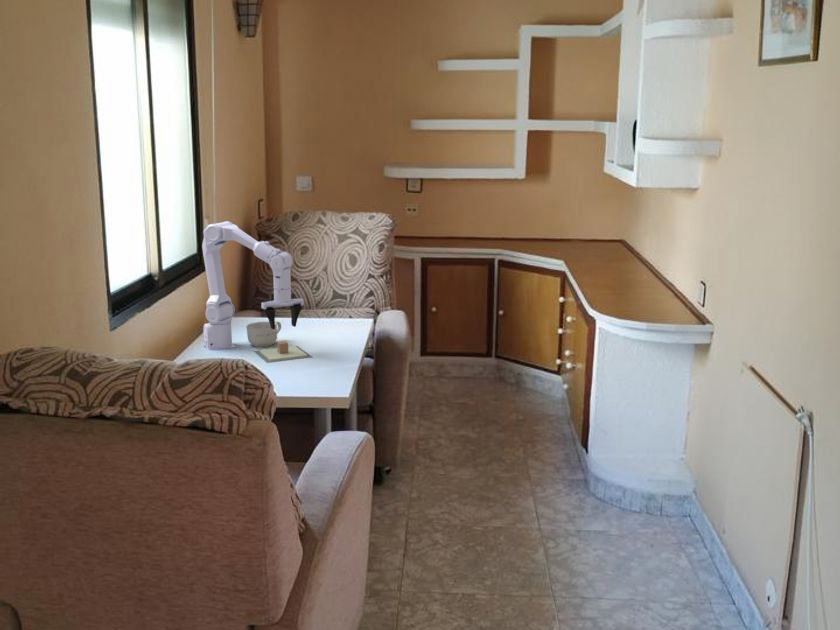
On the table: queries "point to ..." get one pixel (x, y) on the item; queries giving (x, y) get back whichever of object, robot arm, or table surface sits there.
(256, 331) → the teacup
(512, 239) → the table surface
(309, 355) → the mat
